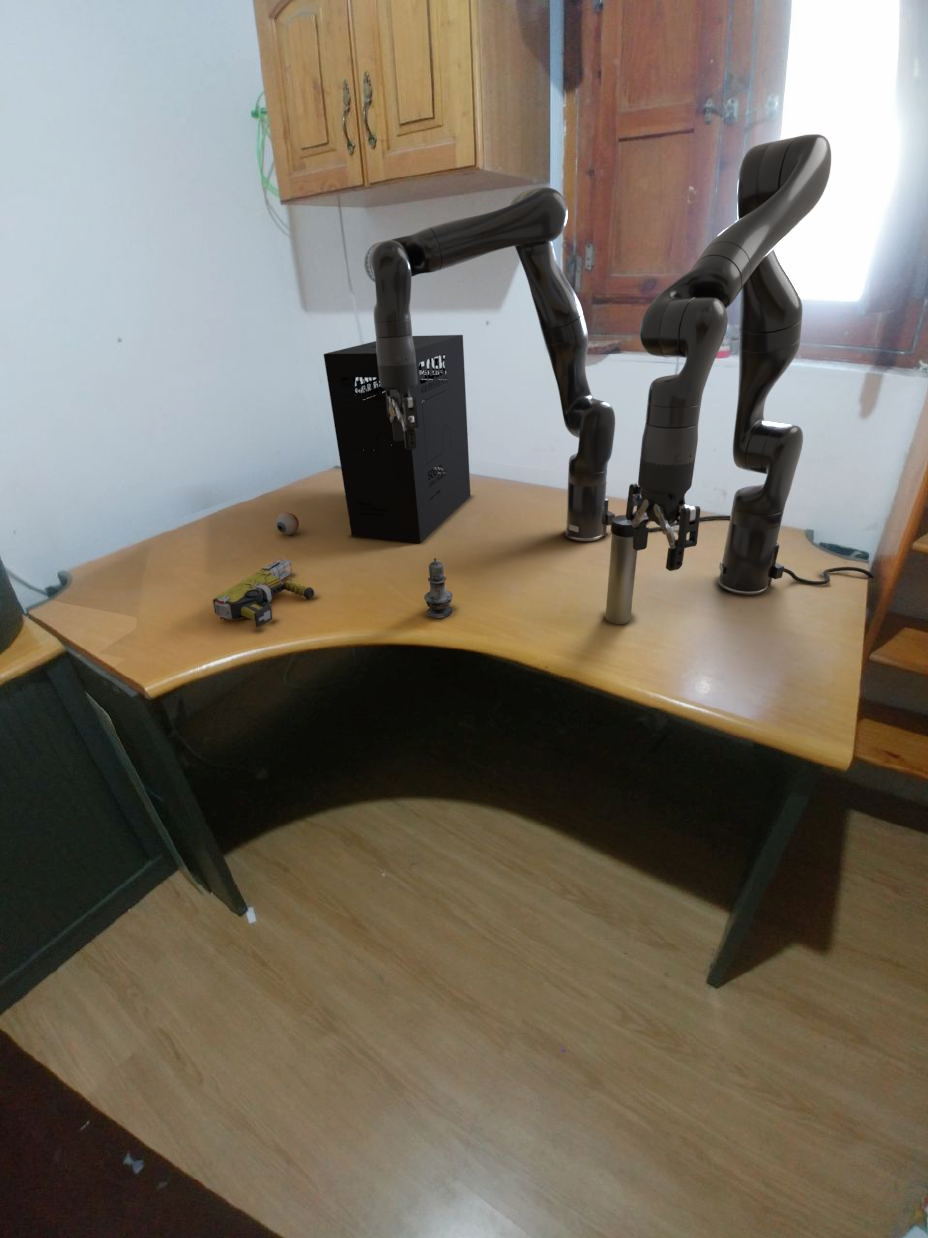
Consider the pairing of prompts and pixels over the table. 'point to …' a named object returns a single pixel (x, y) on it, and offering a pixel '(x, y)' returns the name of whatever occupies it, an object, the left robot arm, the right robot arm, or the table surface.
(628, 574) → the metal thermos bottle
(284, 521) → the eyeball
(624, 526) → the lid
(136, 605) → the table surface
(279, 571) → the toy gun
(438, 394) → the cardboard box
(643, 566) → the table surface
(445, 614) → the dark chess piece
